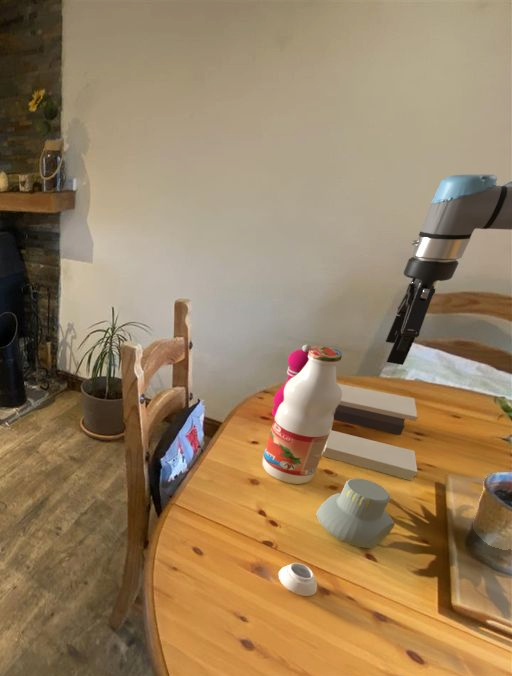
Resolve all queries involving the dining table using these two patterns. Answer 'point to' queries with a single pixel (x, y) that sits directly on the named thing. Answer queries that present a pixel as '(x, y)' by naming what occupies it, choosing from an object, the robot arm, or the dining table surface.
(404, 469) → the light grey flat block
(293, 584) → the small white bowl
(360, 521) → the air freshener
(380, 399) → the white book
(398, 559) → the dining table surface
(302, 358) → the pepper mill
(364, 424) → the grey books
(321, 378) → the fruit juice
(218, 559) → the dining table surface
